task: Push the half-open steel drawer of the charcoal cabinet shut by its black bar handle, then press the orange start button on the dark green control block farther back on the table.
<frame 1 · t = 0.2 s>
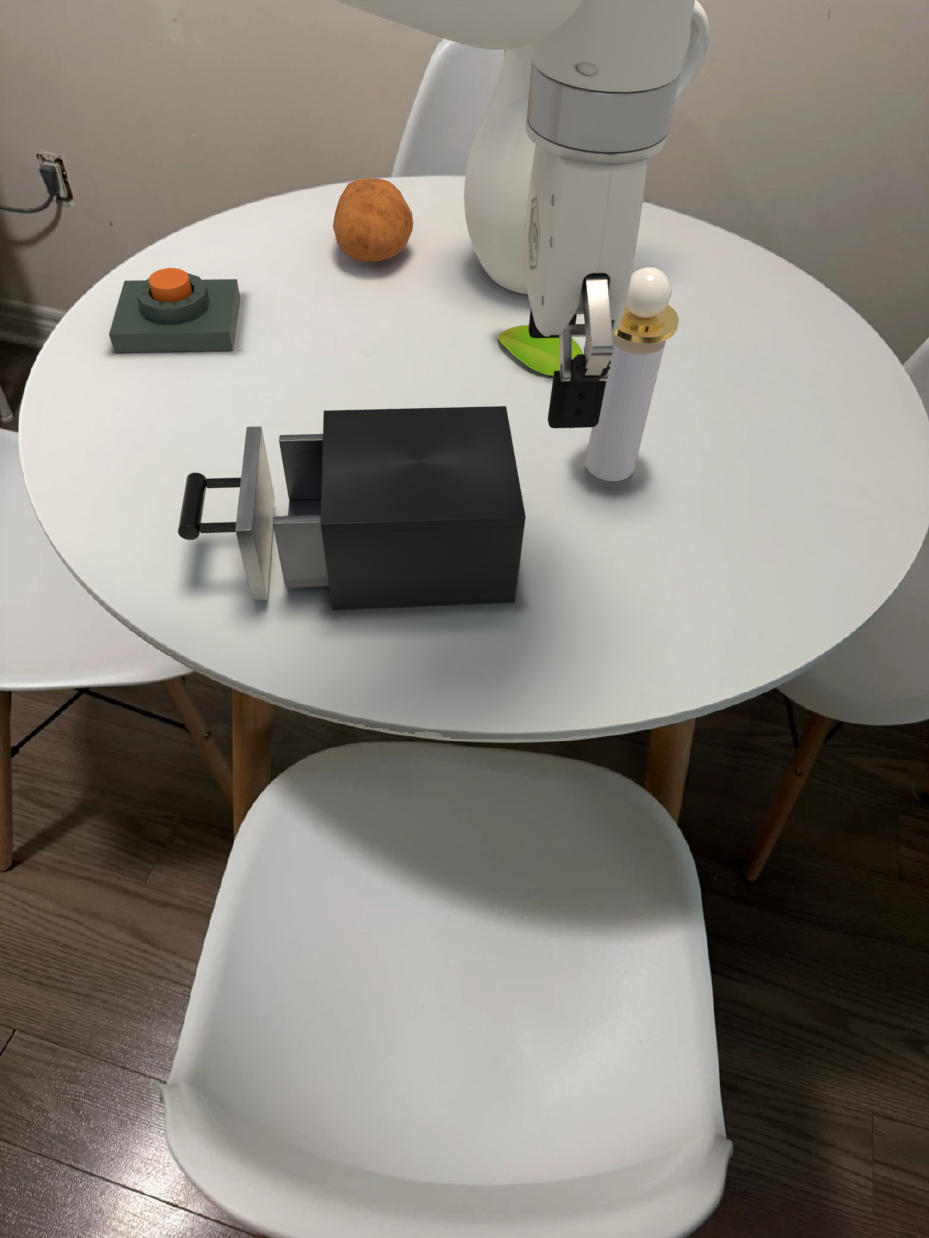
hand: (560, 378, 59), 19 cm above the table, tool pointing down, fingers open, 9 cm apart
perfume bottle: (608, 472, 82), on the table
potato: (374, 254, 104), on the table
drawer: (303, 511, 70), point 5 cm above the table, slide at 5.0 cm
start button: (170, 286, 90), point 4 cm above the table, slide at 0.1 cm
pitcher: (562, 270, 104), on the table
decorative leaf: (539, 356, 93), on the table
control block: (179, 324, 94), on the table
cabinet: (420, 548, 75), on the table
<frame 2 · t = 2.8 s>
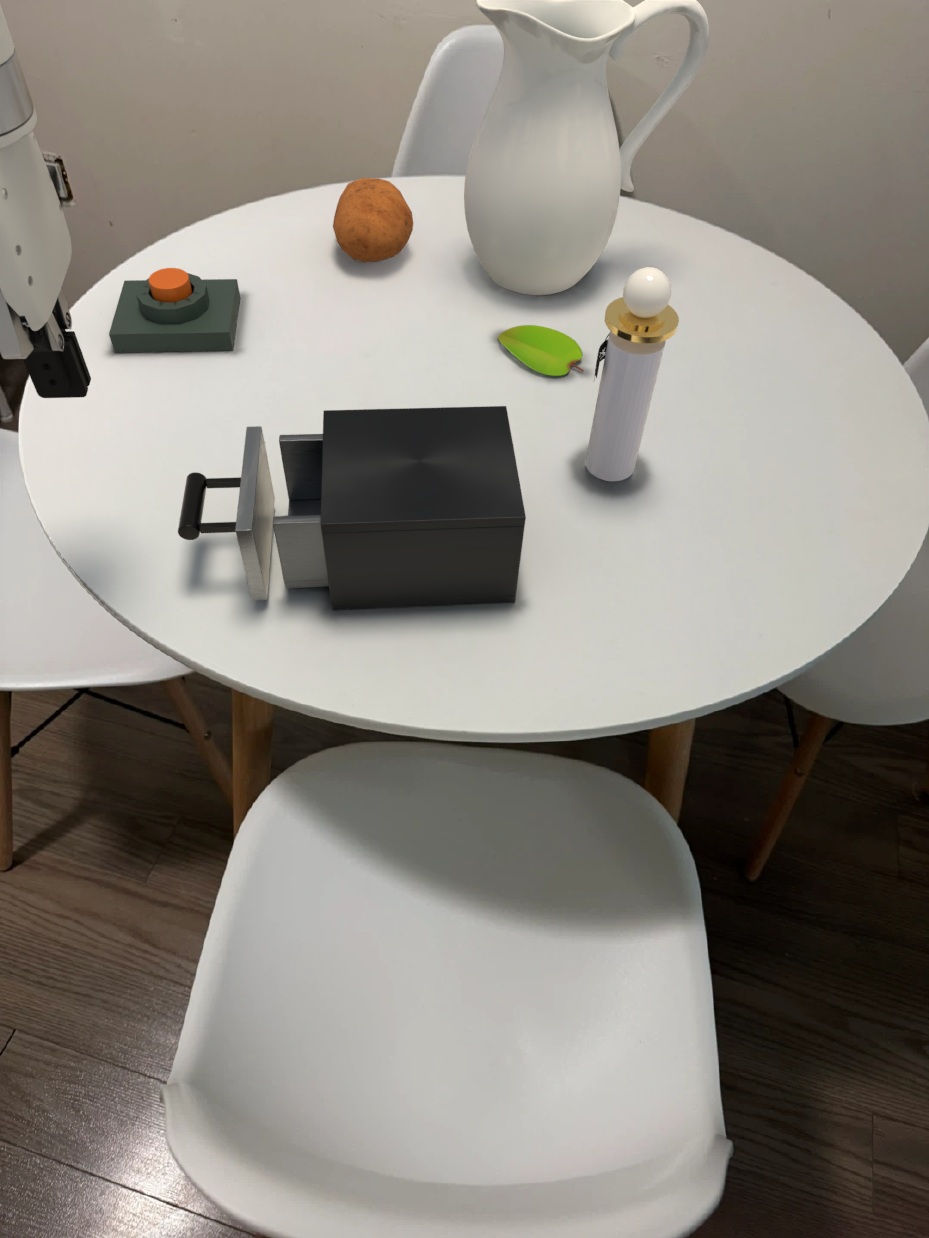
hand: (66, 389, 60), 17 cm above the table, tool pointing down, fingers closed
nothing on the table moved.
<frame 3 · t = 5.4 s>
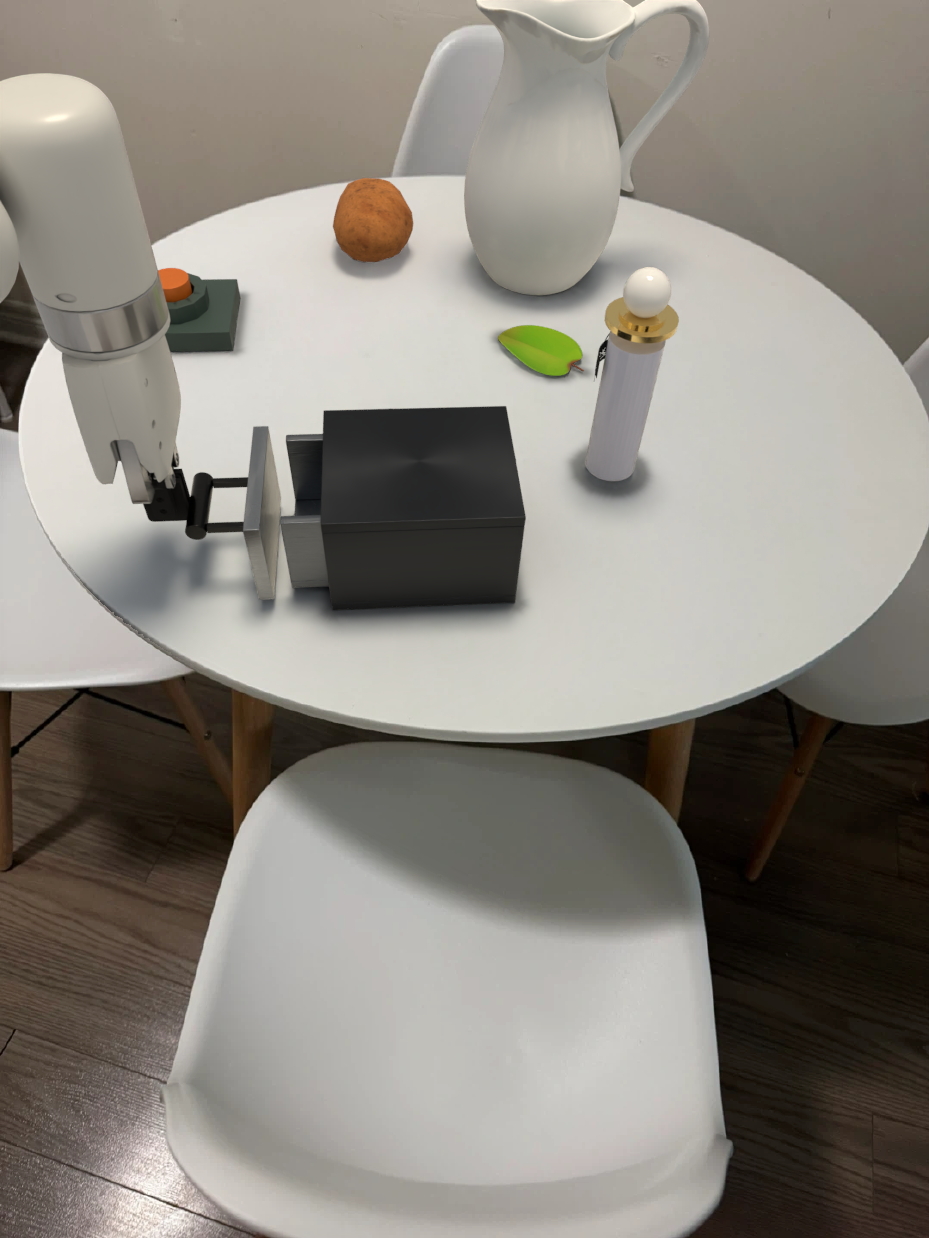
hand: (171, 513, 69), 5 cm above the table, tool pointing down, fingers closed
drawer: (310, 510, 70), point 5 cm above the table, slide at 4.5 cm, touching gripper
everything else where it was.
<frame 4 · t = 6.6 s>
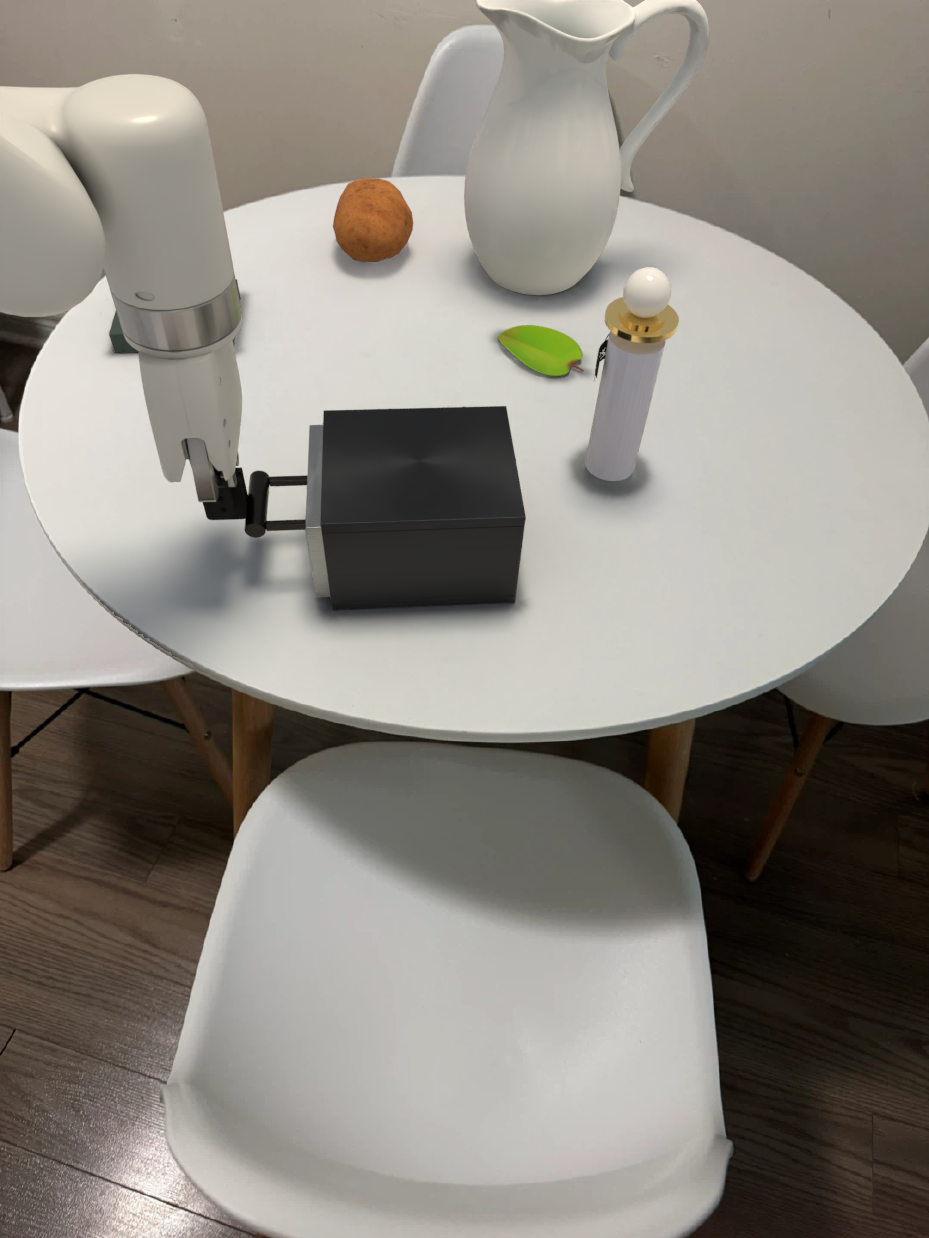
hand: (228, 512, 70), 5 cm above the table, tool pointing down, fingers closed
drawer: (366, 509, 71), point 5 cm above the table, slide at 0.0 cm, touching cabinet, gripper
everything else where it was.
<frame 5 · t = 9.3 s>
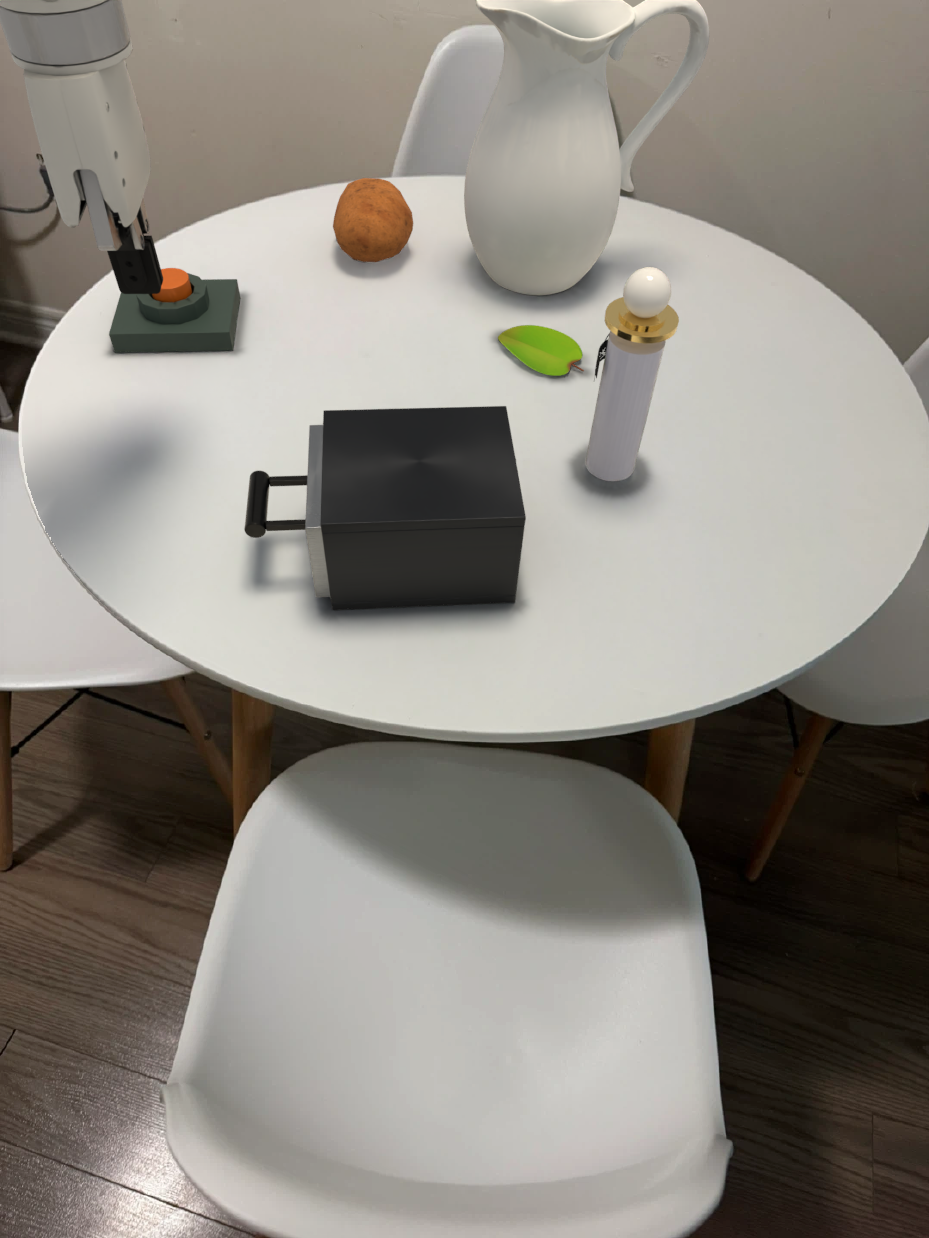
hand: (142, 288, 70), 15 cm above the table, tool pointing down, fingers closed
drawer: (366, 509, 71), point 5 cm above the table, slide at 0.0 cm, touching cabinet
everything else where it was.
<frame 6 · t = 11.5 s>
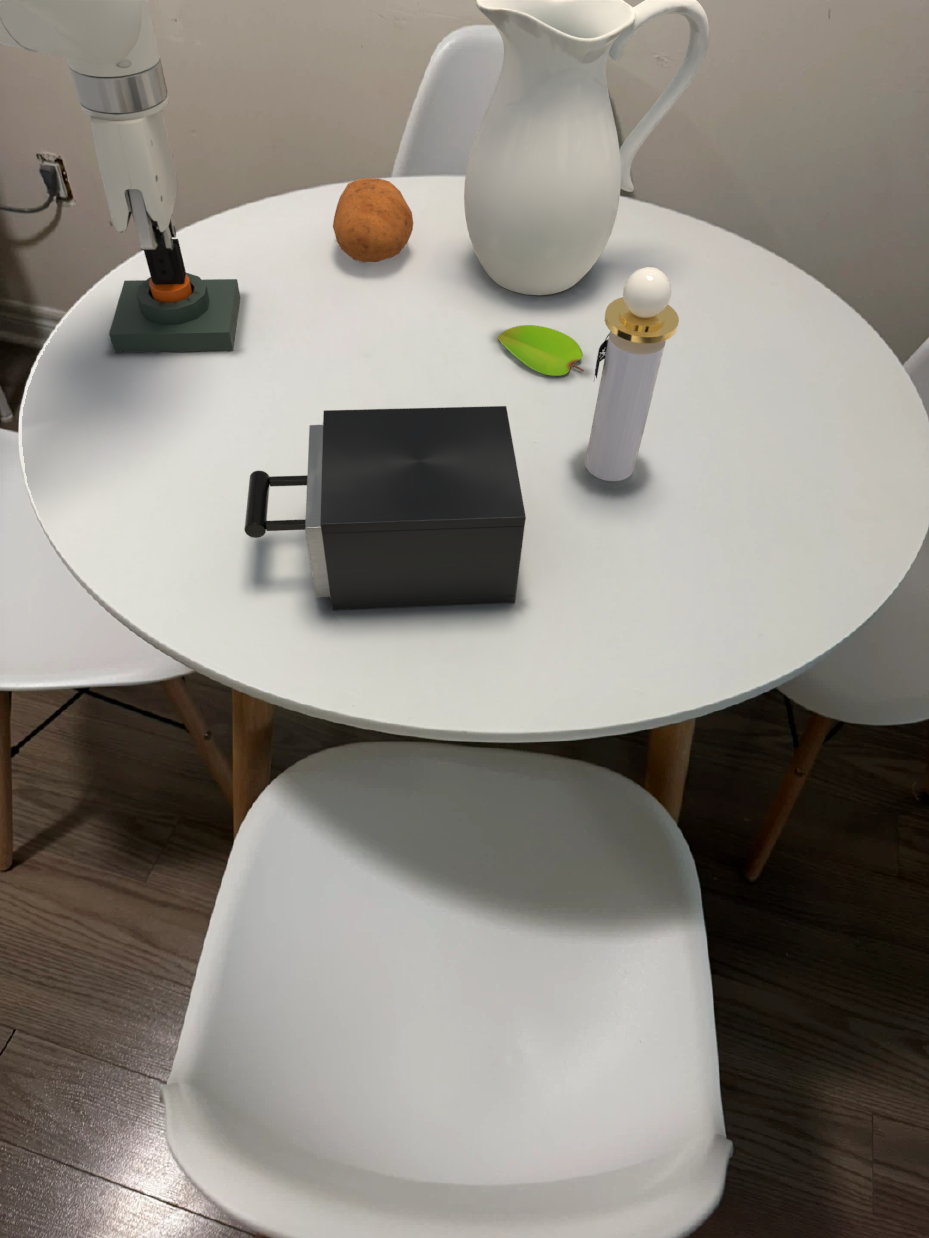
hand: (169, 280, 90), 5 cm above the table, tool pointing down, fingers closed
start button: (171, 288, 91), point 4 cm above the table, slide at -0.3 cm, touching gripper
everything else where it was.
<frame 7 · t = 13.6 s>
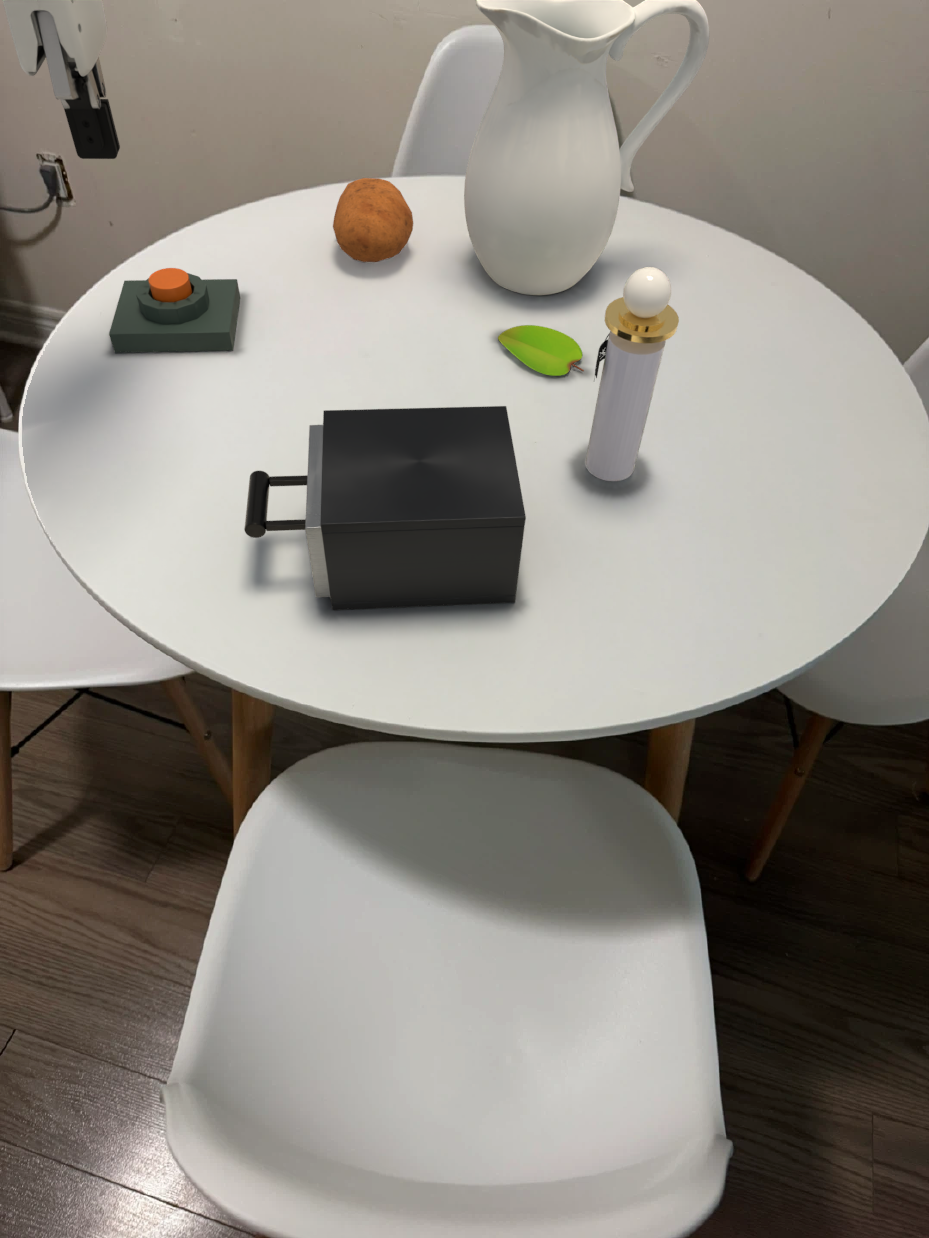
hand: (99, 154, 73), 21 cm above the table, tool pointing down, fingers closed
start button: (170, 286, 90), point 4 cm above the table, slide at 0.1 cm
everything else where it was.
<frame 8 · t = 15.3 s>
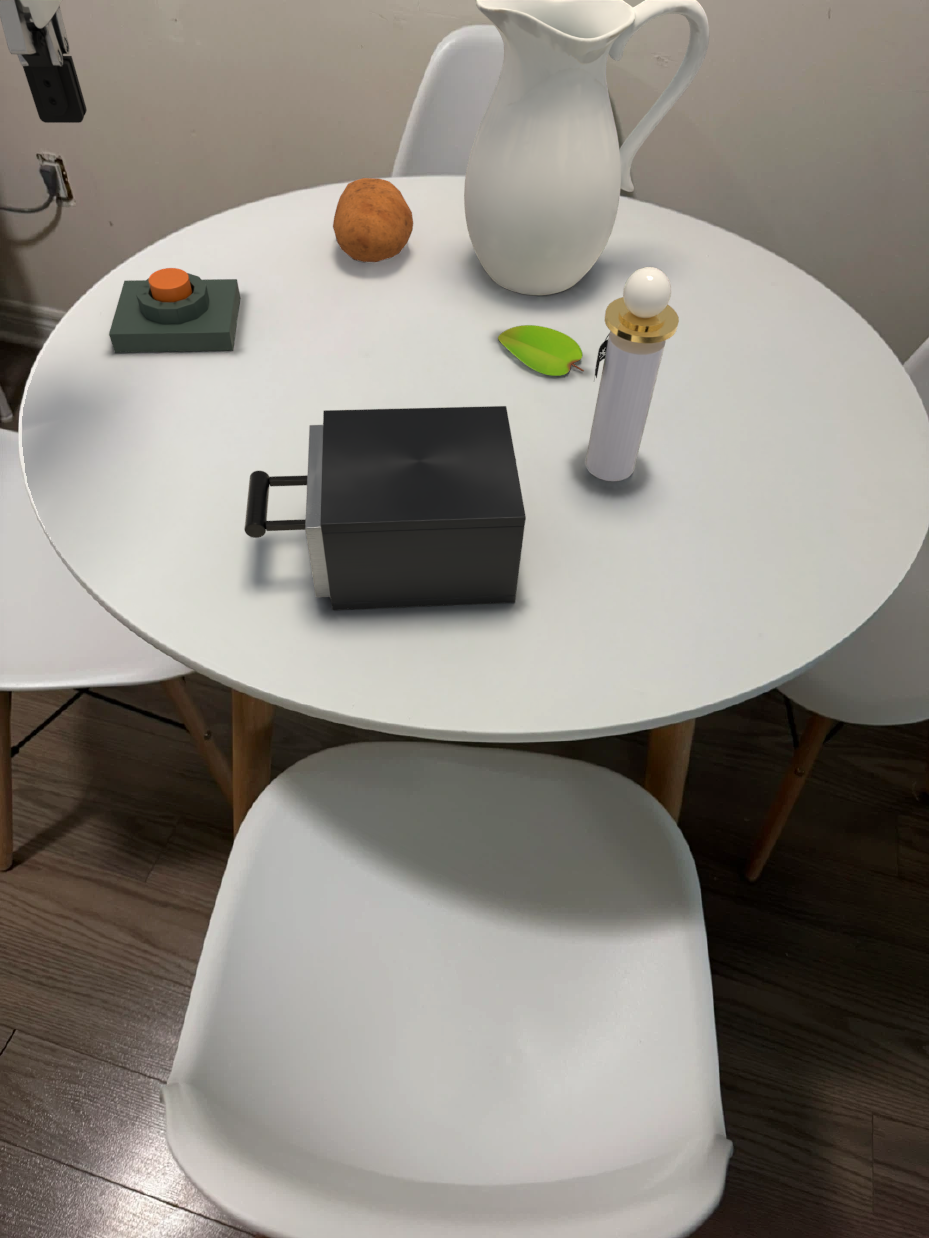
hand: (64, 117, 67), 25 cm above the table, tool pointing down, fingers closed
nothing on the table moved.
at the end: drawer slide at 0.0 cm; start button pushed in 1.1 cm at the most during the clip, back to where it started at the end; start button slide at 0.1 cm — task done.
